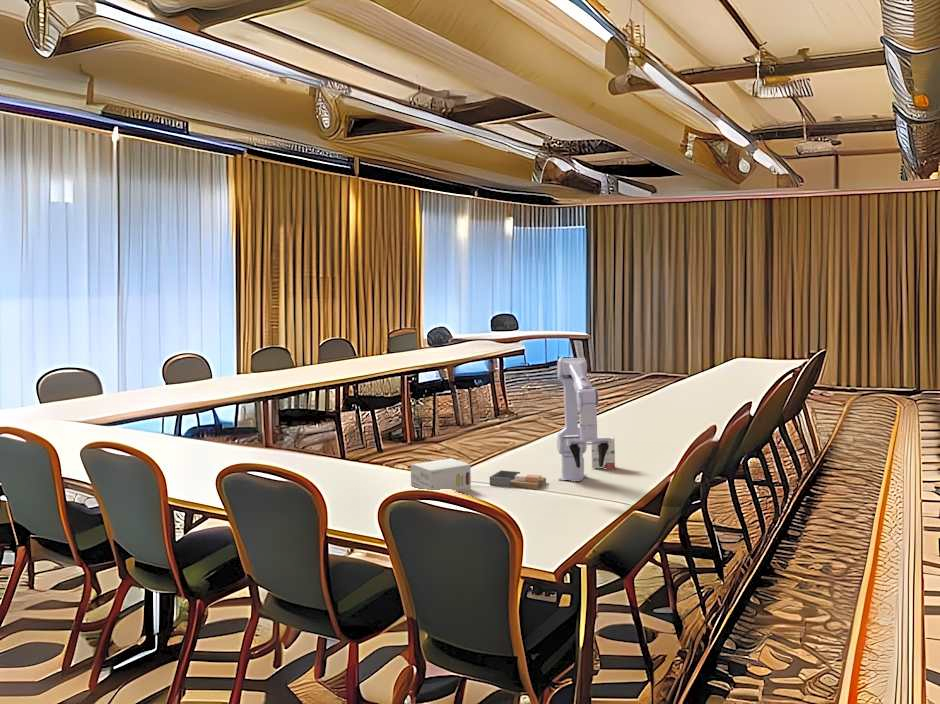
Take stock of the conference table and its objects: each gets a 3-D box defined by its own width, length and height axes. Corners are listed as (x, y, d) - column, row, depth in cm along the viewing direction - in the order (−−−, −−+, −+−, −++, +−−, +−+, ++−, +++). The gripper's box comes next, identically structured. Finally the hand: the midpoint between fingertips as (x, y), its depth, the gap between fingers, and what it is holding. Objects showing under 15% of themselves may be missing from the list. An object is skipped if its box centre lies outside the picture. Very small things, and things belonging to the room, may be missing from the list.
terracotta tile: (530, 478, 302) (530, 474, 302) (541, 479, 300) (541, 475, 300) (526, 481, 298) (526, 476, 298) (537, 482, 297) (537, 477, 297)
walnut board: (519, 480, 308) (519, 475, 308) (546, 482, 304) (545, 477, 303) (509, 486, 299) (509, 481, 298) (536, 489, 295) (536, 484, 294)
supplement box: (430, 497, 286) (429, 470, 286) (410, 490, 297) (409, 463, 297) (471, 490, 296) (471, 463, 295) (451, 482, 307) (450, 457, 306)
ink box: (615, 467, 327) (615, 436, 326) (614, 469, 322) (614, 439, 321) (592, 466, 329) (592, 436, 328) (591, 469, 324) (591, 438, 323)
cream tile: (518, 477, 304) (518, 473, 304) (529, 478, 302) (529, 474, 302) (514, 480, 300) (514, 475, 300) (525, 481, 299) (525, 476, 299)
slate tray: (500, 478, 311) (500, 470, 311) (520, 480, 308) (520, 471, 308) (489, 485, 302) (489, 476, 301) (509, 486, 299) (509, 478, 298)
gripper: (569, 426, 275) (571, 468, 275) (613, 425, 277) (614, 467, 277) (564, 425, 282) (565, 466, 282) (606, 424, 284) (608, 465, 284)
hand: (589, 466), depth 280 cm, fingers open, 7 cm apart
